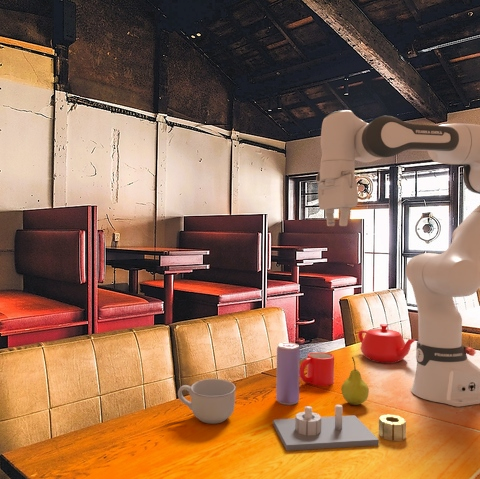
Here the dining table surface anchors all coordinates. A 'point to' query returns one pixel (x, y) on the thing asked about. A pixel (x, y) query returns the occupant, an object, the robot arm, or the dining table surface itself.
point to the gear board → (323, 431)
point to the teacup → (210, 399)
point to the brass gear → (392, 427)
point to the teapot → (384, 345)
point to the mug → (318, 369)
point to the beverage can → (287, 373)
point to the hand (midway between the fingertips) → (336, 226)
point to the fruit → (355, 388)
